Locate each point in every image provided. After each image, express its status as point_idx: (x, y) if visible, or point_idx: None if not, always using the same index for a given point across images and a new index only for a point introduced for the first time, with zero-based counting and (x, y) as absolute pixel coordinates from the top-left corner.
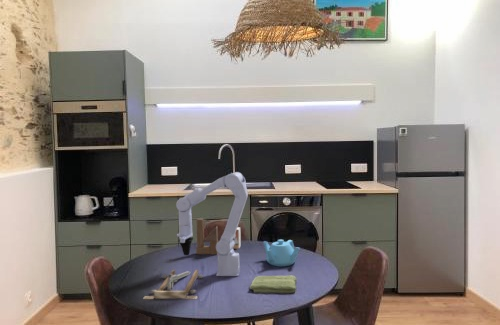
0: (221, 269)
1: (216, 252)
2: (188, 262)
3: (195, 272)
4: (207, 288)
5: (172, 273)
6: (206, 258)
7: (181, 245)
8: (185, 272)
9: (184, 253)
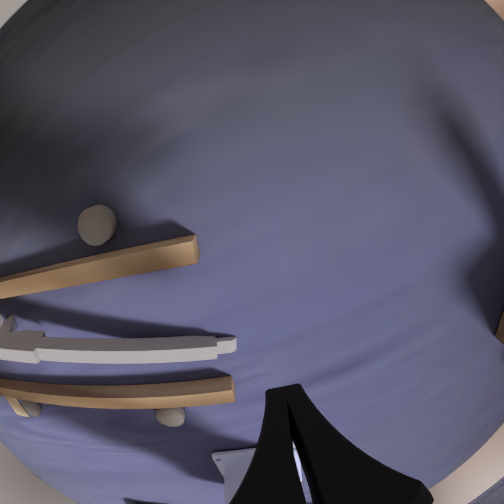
0: (226, 482)
1: (500, 340)
2: (429, 250)
3: (189, 400)
4: (88, 438)
5: (123, 274)
6: (468, 319)
7: (237, 490)
8: (160, 357)
9: (265, 408)
